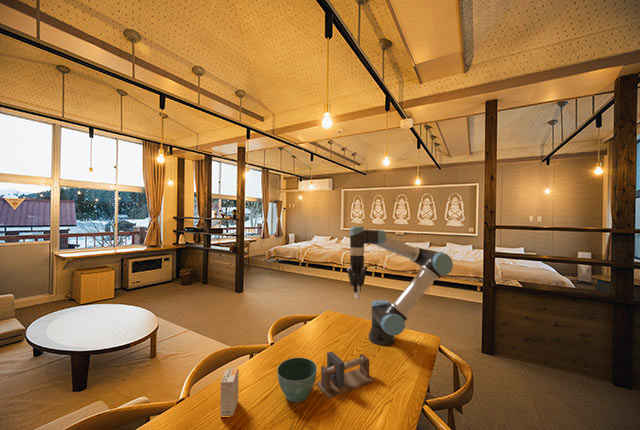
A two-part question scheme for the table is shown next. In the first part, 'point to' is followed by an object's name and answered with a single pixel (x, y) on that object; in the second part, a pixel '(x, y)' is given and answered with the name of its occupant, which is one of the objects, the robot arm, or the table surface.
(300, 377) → the flower pot
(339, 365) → the ring
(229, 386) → the supplement box
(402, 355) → the table surface
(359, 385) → the pipe stand
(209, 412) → the table surface
